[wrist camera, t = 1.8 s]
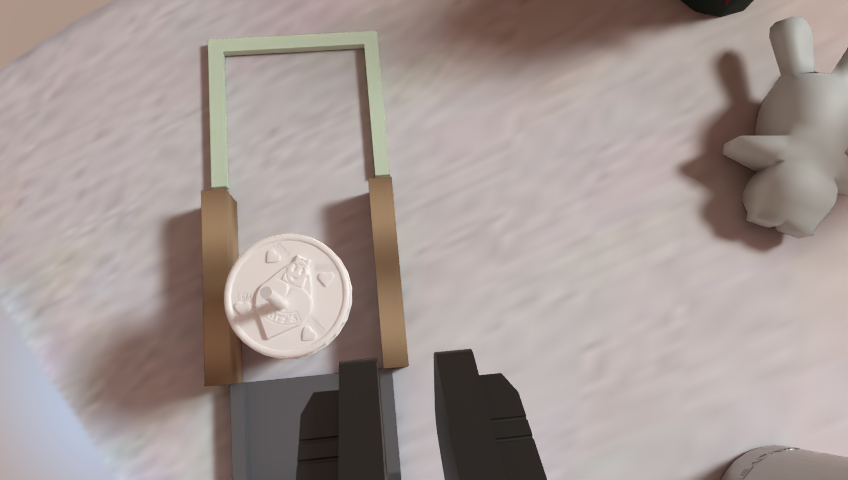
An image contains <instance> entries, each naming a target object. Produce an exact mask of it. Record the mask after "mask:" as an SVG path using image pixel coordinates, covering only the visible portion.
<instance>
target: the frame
mask: <svg viewBox="0 0 848 480" xmlns="http://www.w3.org/2000/svg"><path fill="white" fill-rule="evenodd" d="M359 48H364V49H365V61H366V73H367V84H368V96H369V108H370V120H371V131H372V143H373V155H374V167H375V178H381V177H390V170H389V159H388V148H387V137H386V126H385V115H384V104H383V93H382V82H381V71H380V60H379V49H378V37H377V31H361V32H342V33H323V34H304V35H286V36H267V37H248V38H230V39H211V40H208V62H209V105H210V148H211V187H212V188H213V190H217V189H229V176H228V143H227V109H226V76H225V56H234V55H252V54H270V53H288V52H305V51H323V50H341V49H359Z"/></svg>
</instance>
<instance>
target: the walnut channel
mask: <svg viewBox="0 0 848 480" xmlns="http://www.w3.org/2000/svg"><path fill="white" fill-rule="evenodd" d="M368 183H369V195H370V207H371V219H372V231H373V244H374V256H375V268H376V280H377V292H378V305H379V317H380V329H381V341H382V353H383V365H384V369H386V368H398V367H407V366H409V365H408V354H407V343H406V332H405V321H404V310H403V299H402V288H401V277H400V266H399V255H398V244H397V233H396V222H395V211H394V200H393V189H392V178H391V177H381V178H368ZM201 216H202V268H203V319H204V371H205V386H216V385H227V384H235V383H243V378H242V348H241V339H240V338H239V337H238V336H237V335H236V333H235V332H234V331H233V329H232V327H231V325H230V323H229V321H228V319H227V315H226V312H225V306H224V290H225V285H226V281H227V278H228V275H229V273H230V271H231V269H232V267H233V265H234V264H235V262H236V261H237V259H238V258H239V256H238V225H237V202H236V201H235V200H234V198H233V197H232V196H231V195H230V194H229V193H228V191H227V190H226V189H217V190H204V191H201Z"/></svg>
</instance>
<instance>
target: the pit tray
mask: <svg viewBox="0 0 848 480" xmlns="http://www.w3.org/2000/svg"><path fill="white" fill-rule="evenodd" d="M378 377H379V388H380V399H381V410H382V422H383V434H384V448H385V462H386V476H387V480H401V472H400V460H399V449H398V437H397V425H396V413H395V401H394V390H393V378H392V368H386V369H378ZM331 390H339V373H337V374H326V375H316V376H306V377H296V378H286V379H276V380H266V381H256V382H246V383H235V384H230V408H231V444H232V479H233V480H296V469H297V456H298V445H299V430H300V416H301V413H302V412H303V410H304V408H305V406H306V405H307V403H308V401H309V399H310V397H311V396H312V394H313V392H322V391H331Z"/></svg>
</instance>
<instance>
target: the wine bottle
mask: <svg viewBox="0 0 848 480" xmlns="http://www.w3.org/2000/svg"><path fill="white" fill-rule="evenodd" d="M681 1H683V2H684V3H685V4H686V5H688V6H689V7H690V8H692V9H693V10H694V11H696V12H701V13H705V14H710V15H715V16H719V17H722V16H726V15H729V14H733V13H736V12H740V11H743V10H745V9H746V8H747V7H748V6H749V5H750V3H751V2H752V1H753V0H681Z"/></svg>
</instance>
